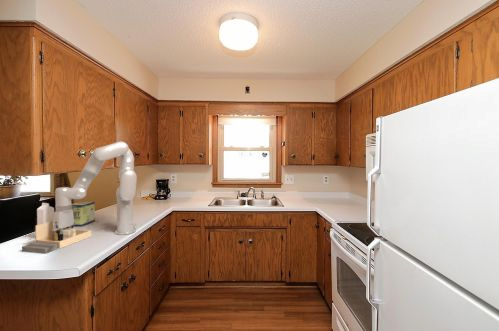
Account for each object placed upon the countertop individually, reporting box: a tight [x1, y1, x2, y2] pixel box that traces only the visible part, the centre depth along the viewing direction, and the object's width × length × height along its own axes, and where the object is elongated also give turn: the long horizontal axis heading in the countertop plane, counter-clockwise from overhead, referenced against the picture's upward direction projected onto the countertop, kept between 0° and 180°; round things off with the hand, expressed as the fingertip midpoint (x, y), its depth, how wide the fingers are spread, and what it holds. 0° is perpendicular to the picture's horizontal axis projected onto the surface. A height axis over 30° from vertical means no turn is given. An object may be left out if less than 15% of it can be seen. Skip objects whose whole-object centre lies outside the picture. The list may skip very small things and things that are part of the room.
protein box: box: [71, 201, 96, 227], centre depth 191 cm, size 10×16×16 cm
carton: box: [35, 221, 92, 250], centre depth 151 cm, size 21×16×12 cm
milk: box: [36, 202, 55, 225], centre depth 156 cm, size 6×6×22 cm
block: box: [54, 228, 76, 241], centre depth 151 cm, size 4×10×7 cm, turn 79°
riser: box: [21, 242, 58, 255], centre depth 136 cm, size 6×15×3 cm, turn 79°
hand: (64, 238), depth 151 cm, fingers closed on block, 4 cm apart
